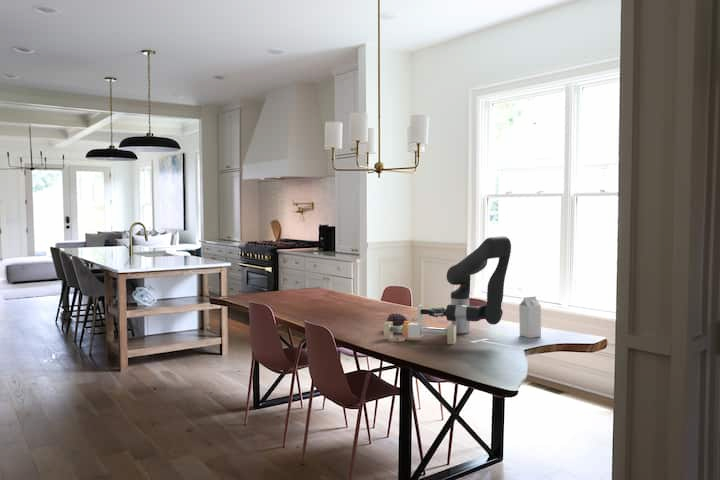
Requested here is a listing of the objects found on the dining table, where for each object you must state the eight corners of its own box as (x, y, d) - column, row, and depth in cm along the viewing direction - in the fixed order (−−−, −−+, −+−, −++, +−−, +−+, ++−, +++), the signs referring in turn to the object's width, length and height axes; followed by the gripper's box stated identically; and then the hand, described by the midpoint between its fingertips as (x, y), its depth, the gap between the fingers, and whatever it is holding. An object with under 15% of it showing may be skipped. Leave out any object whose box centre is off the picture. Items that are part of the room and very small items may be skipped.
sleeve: (423, 335, 275) (422, 304, 274) (419, 338, 269) (419, 306, 269) (411, 334, 277) (410, 303, 276) (407, 337, 271) (407, 305, 271)
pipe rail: (457, 340, 270) (456, 324, 270) (453, 345, 262) (452, 327, 262) (388, 336, 283) (388, 320, 283) (382, 340, 275) (382, 324, 274)
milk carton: (519, 335, 279) (519, 296, 279) (531, 334, 282) (531, 295, 281) (528, 338, 273) (528, 298, 272) (541, 336, 275) (540, 297, 274)
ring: (411, 336, 278) (411, 320, 278) (407, 339, 271) (406, 323, 270) (407, 335, 279) (406, 320, 278) (402, 339, 272) (401, 322, 271)
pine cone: (419, 331, 294) (415, 317, 288) (405, 343, 289) (402, 329, 284) (395, 318, 306) (391, 304, 301) (382, 329, 302) (377, 315, 296)
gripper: (460, 302, 271) (424, 301, 278) (454, 307, 259) (417, 305, 265) (460, 318, 272) (425, 317, 278) (454, 323, 259) (417, 321, 266)
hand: (421, 311), depth 272 cm, fingers closed
